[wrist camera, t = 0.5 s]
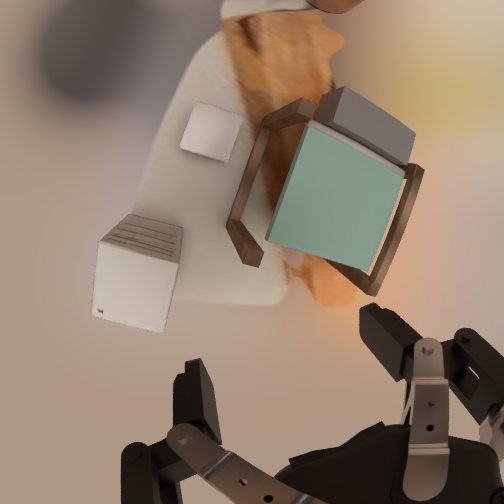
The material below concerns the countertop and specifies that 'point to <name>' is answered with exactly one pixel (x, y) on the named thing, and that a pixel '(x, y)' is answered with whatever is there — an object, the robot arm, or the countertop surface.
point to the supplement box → (137, 273)
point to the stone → (211, 132)
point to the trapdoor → (342, 181)
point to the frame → (368, 284)
